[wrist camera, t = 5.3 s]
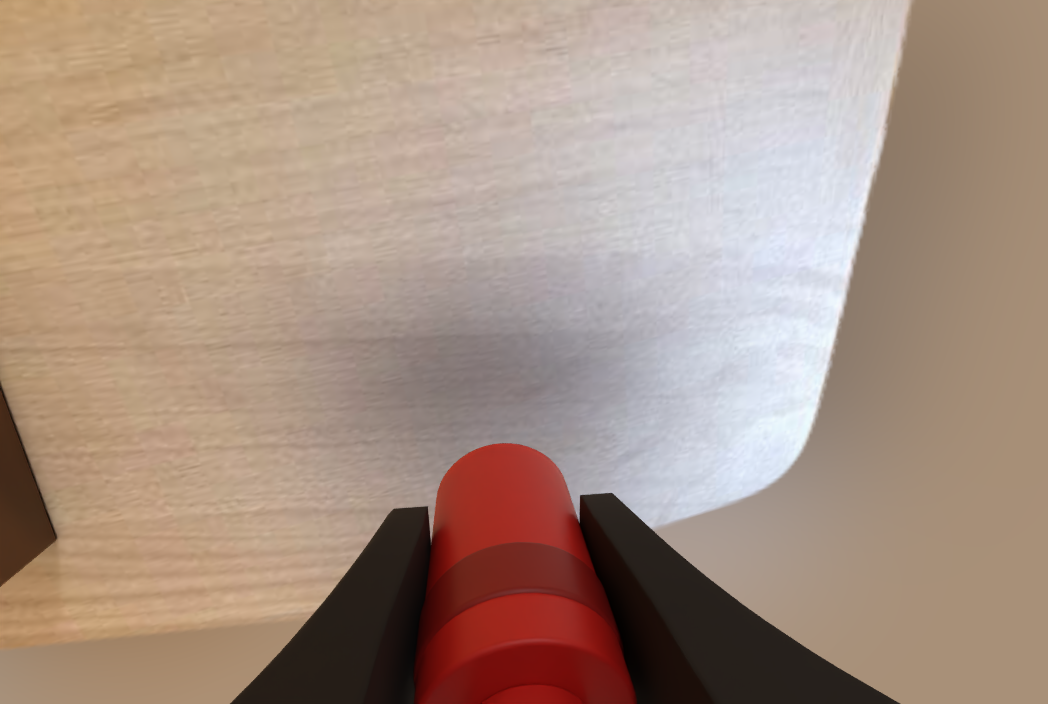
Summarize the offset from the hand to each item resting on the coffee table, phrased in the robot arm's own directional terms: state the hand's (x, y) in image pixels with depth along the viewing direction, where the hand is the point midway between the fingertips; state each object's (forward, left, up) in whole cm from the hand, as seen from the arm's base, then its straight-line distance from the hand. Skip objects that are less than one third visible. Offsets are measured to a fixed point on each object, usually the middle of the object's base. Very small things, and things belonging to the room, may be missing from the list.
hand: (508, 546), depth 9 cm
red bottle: (0, 0, -1) cm, 1 cm away
